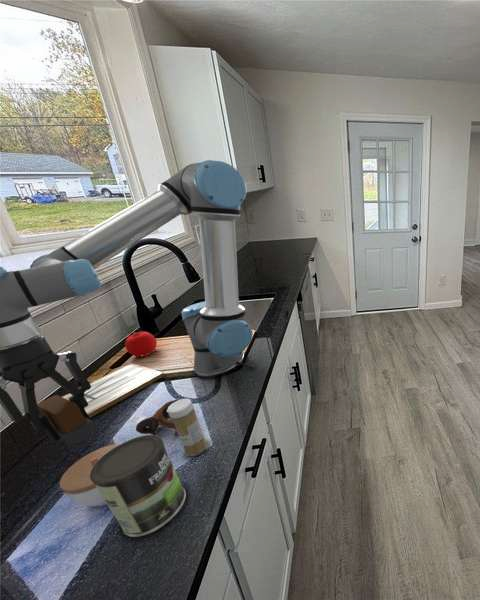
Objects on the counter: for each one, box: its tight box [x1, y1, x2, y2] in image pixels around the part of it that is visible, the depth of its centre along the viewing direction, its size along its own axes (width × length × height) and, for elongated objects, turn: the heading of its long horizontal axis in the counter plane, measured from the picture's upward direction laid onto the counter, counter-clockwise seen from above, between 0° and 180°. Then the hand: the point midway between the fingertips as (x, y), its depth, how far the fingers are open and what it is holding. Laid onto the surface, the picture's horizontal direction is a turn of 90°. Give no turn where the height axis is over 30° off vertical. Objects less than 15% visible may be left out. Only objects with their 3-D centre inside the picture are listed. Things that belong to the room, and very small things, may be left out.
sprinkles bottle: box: [167, 398, 208, 457], centre depth 72 cm, size 5×5×13 cm
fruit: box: [124, 331, 158, 358], centre depth 117 cm, size 9×9×10 cm
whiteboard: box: [62, 362, 165, 419], centre depth 97 cm, size 18×24×2 cm
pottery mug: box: [135, 398, 196, 437], centre depth 80 cm, size 12×10×8 cm
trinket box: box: [59, 443, 121, 508], centre depth 64 cm, size 11×11×9 cm
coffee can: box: [90, 434, 187, 538], centre depth 59 cm, size 10×10×14 cm
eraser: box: [37, 394, 99, 447], centre depth 71 cm, size 11×5×8 cm, turn 67°
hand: (71, 428), depth 72 cm, fingers closed on eraser, 5 cm apart
